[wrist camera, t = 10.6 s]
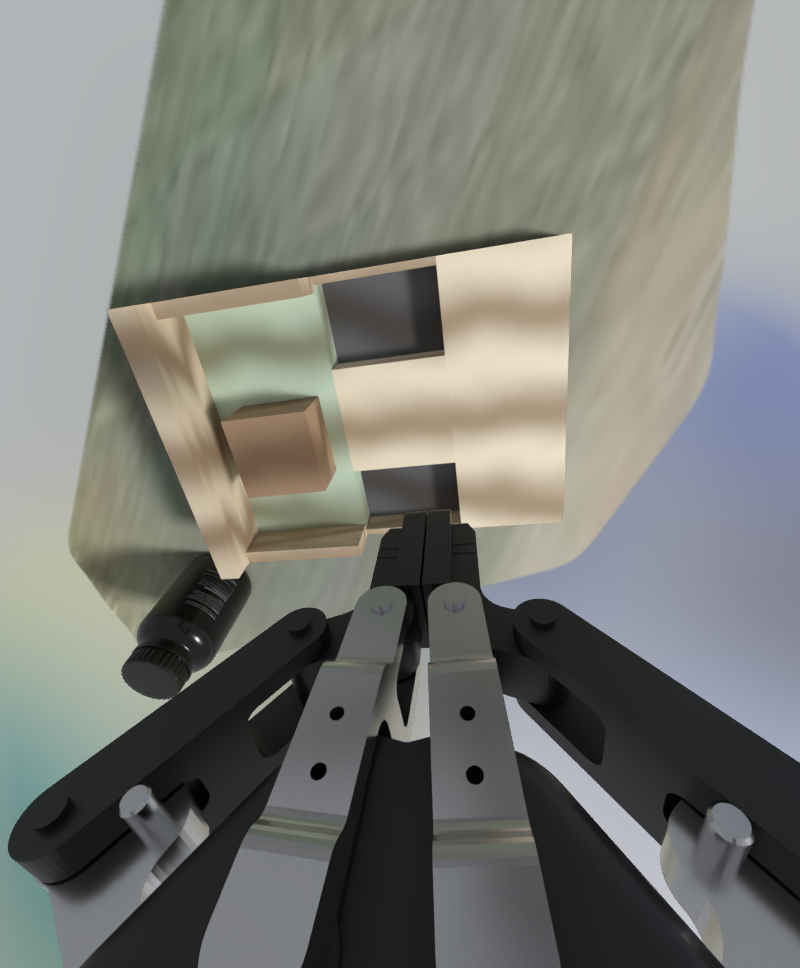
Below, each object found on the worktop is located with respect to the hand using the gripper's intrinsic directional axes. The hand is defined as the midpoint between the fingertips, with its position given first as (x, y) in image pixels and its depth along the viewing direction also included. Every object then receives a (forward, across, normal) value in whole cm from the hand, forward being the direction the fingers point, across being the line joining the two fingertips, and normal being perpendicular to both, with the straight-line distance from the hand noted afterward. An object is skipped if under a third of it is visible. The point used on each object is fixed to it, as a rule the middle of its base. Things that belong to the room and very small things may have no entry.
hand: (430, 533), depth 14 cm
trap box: (+20, +5, +2) cm, 21 cm away
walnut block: (+18, +12, +3) cm, 22 cm away
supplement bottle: (+20, +25, +18) cm, 37 cm away
